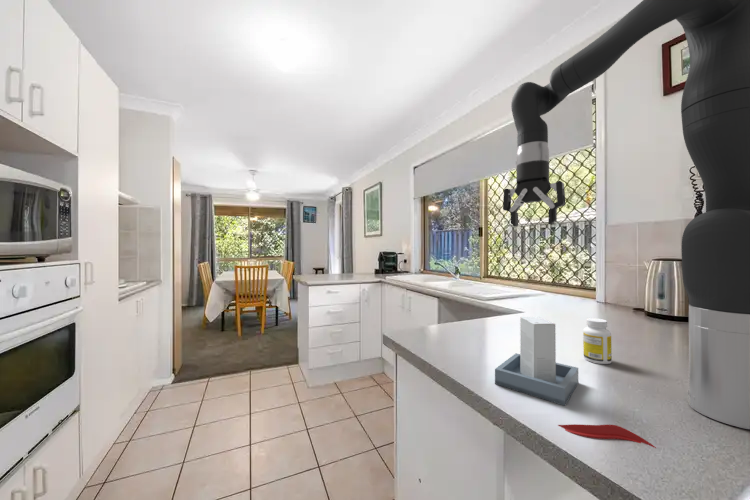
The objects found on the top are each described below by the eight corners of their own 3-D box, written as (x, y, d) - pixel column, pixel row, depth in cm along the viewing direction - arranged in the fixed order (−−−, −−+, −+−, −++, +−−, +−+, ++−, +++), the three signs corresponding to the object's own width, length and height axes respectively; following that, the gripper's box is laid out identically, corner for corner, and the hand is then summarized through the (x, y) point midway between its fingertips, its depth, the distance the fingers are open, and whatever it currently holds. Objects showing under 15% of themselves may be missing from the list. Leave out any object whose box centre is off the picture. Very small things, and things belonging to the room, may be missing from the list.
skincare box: (556, 386, 56) (556, 323, 56) (534, 386, 56) (533, 323, 56) (539, 373, 62) (539, 316, 62) (519, 372, 62) (519, 316, 62)
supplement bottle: (601, 356, 73) (601, 317, 73) (617, 365, 68) (617, 323, 68) (578, 356, 74) (578, 317, 74) (592, 364, 68) (592, 322, 68)
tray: (578, 382, 59) (578, 367, 59) (564, 405, 51) (564, 388, 51) (515, 366, 68) (515, 353, 67) (494, 383, 59) (494, 369, 59)
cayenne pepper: (656, 444, 41) (656, 430, 41) (664, 464, 38) (663, 449, 38) (556, 416, 48) (556, 404, 48) (554, 430, 44) (554, 418, 44)
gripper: (567, 160, 74) (567, 224, 74) (509, 171, 84) (509, 227, 84) (560, 153, 69) (560, 222, 69) (499, 165, 79) (499, 226, 79)
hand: (532, 225), depth 77 cm, fingers open, 8 cm apart
